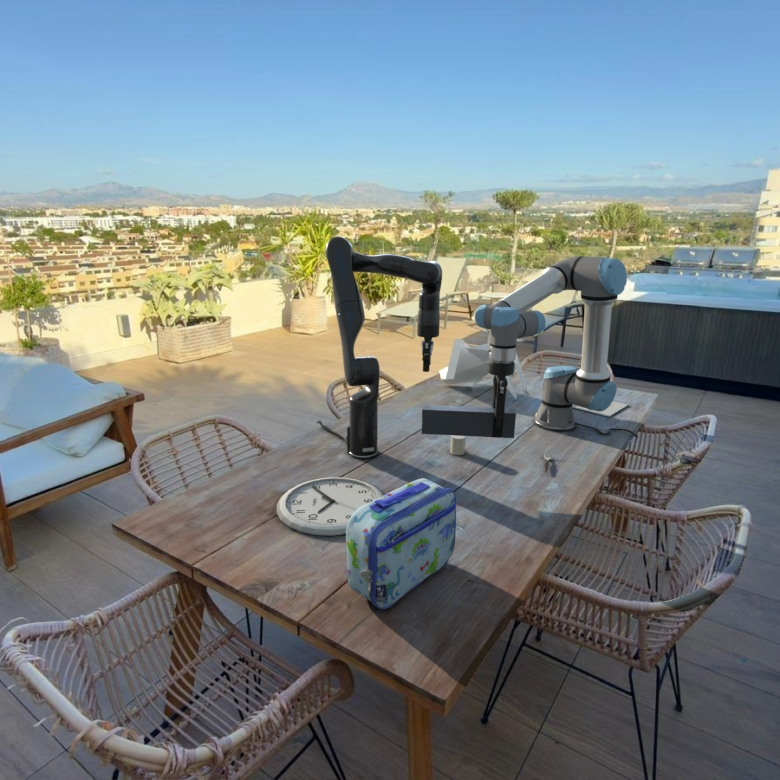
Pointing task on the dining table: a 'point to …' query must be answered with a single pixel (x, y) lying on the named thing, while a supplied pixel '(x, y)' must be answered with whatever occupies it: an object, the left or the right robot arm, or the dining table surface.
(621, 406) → the invitation card
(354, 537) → the lunch box
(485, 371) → the white plastic object
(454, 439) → the off-white cylinder
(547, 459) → the fork
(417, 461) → the dining table surface
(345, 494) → the wall clock
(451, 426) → the bar
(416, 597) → the dining table surface
